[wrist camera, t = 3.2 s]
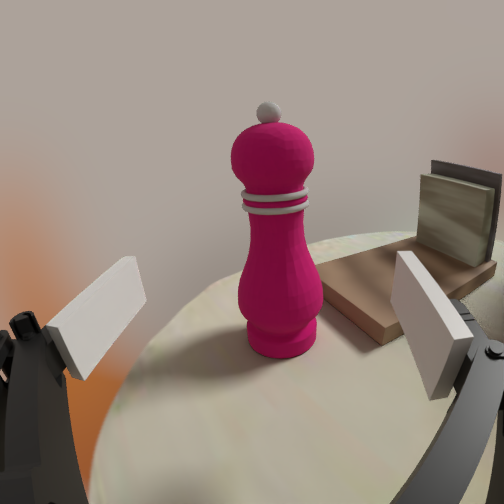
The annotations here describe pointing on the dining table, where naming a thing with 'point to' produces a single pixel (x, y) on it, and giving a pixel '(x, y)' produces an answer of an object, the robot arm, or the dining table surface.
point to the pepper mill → (277, 237)
